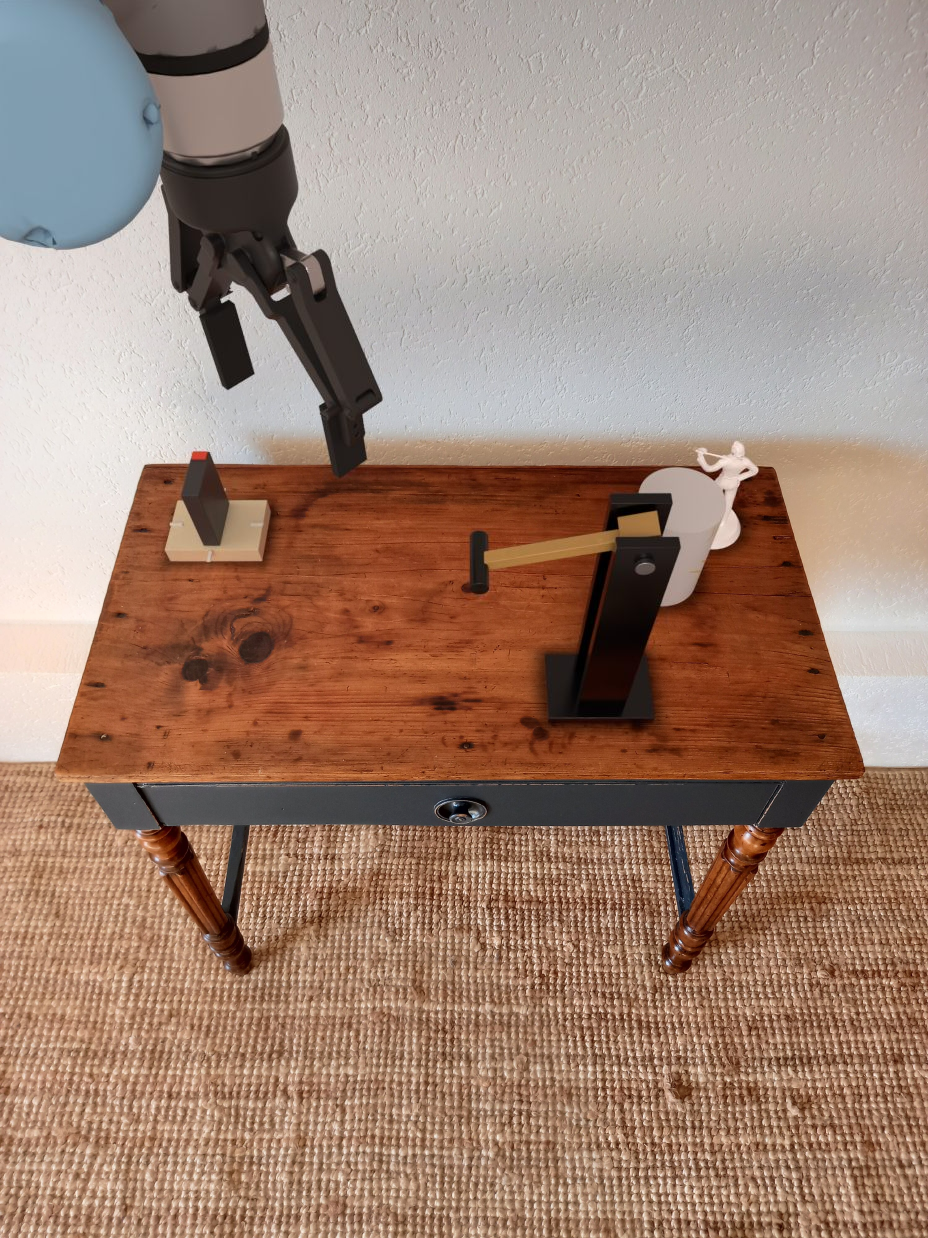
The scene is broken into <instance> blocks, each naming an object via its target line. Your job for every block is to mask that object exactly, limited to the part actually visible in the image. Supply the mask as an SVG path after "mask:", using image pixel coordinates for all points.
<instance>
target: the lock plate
mask: <svg viewBox="0 0 928 1238" xmlns="http://www.w3.org/2000/svg"><path fill="white" fill-rule="evenodd" d="M223 488H224V487H223ZM224 490H225V493H226V492H227V488H226V487H225V488H224ZM226 494H227V493H226ZM228 501H229V508H228V512H227V517H226V521H225V526H224V530H223V534H222V539H221V543H220V546H204V545H203V543H202V541H201V539H200V537H199V535H198V532H197V530H196V528H195V526H194V524H193V522H192V519H191V517H190V515H189V513H188V511H187V508H186V506H185V504H184V502H183V500H182V499H180V500H179V499H178V500H177V502H176V505H175V509H174V513H173V517H172V521H171V522H169V526H170V528H169V532H168V536H167V540H166V543H165V547H164V552H165V553H166V555H167V557H168V559H169V561H170V562H206V563H211V562H263V559H264V553H265V549H266V541H267V536H268V531H269V525H270V520H271V514H272V510H271V508H270V505H269V504H270V503H269V502H268V500H267V499H256V500H255V499H230V500H229V499H228Z"/></svg>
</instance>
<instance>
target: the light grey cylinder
mask: <svg viewBox="0 0 928 1238" xmlns="http://www.w3.org/2000/svg"><path fill="white" fill-rule="evenodd" d="M638 493H671V495H672V500H673V505H672V508H671V511H670V514H669V517H668V520H667V524H666V527H665V530H664V533H663V536H662V537H679V539H680V545H681V549H680V552H679V555H678V558H677V560H676V563H675V566H674V569H673V572H672V575H671V577H670V580H669V583H668V586H667V589H666V592H665V594H664V597H663V600H662V603H661V606H660V607H669V606H675V605H678V604H680V603H682V602H683V601H686V599H688V598H689V597H690V596H691V595H692V594H693V592H694V591H695V587H696V585H697V583H698V580H699V578H700V575H701V573H702V570H703V568H704V566H705V563H706V561H707V558H708V556H709V553H710V551H711V549H710V548H711V546H712V543H713V541H714V538H715V536H716V533H717V531H718V529H719V526H720V524H721V521H722V519H723V516H724V514H725V511H726V499H725V495H724V494H725V492H724V490H723V491H722V489H721V488H720V487H719V485H718V484H717V483H716V482H715V480H714V479H712V478H711V477H709V476H708V475H706V474H704V473H703V472H700V471H698V470H695V469H692V468H687V467H677V466H673V467H666V468H662V469H659V470H657V471H654V472H652V473H650V475H647V477H646V478H645V479H644V480H643V482H642V483H641V485H640V488H639V489H638Z"/></svg>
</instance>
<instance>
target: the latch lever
mask: <svg viewBox="0 0 928 1238" xmlns="http://www.w3.org/2000/svg"><path fill="white" fill-rule="evenodd" d="M618 525H619V529H617V530H611V531H605V532H602V531H599V532H593V533H588V534H583V535H575V536H569V537H563V538H558V539H557V538H556V539H552V540H546V541H540V542H533V543H527V544H522V545H515V546H509V547H504V548H497V549H493V550H492V549H491V550H490V549H489V534H488V533H487V532H486V531H484V530H474V531H472V532H471V533H470V534H469V591H470V592H471V593H472V594H474V595H484V594H487V593H488V592H489V590H490V571H493V570H498V569H505V568H513V567H518V566H524V565H529V564H536V563H542V562H548V561H549V562H550V561H554V560H560V559H561V560H562V559H567V558H568V559H569V558H574V557H580V556H586V555H591V554H597V553H599V552H605V551H611V550H613V546H614V542H615V538H616V537H661V532H660V526H659V520H658V514H657V511H651V512H646V513H640V514H634V515H628V516H622V517H618Z"/></svg>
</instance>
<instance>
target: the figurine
mask: <svg viewBox="0 0 928 1238" xmlns="http://www.w3.org/2000/svg"><path fill="white" fill-rule="evenodd" d="M745 449H746V447H745V445H744V443H742V442H741V441H739V440H735V441H734V442H733V444H732V445H731V449H730V453H729V454H722V455H719V454H716V453H715V454H714V453H710V452H708V448H706V447H703V446H702V447H698V448H697V449H695V450H694V452H695V453H696V454H697V458H696V461H697V463H698V464H699V465H700V468H702V470H703V471H704V472H706V473H713V472H714V473H715V472H717V471H719V470H720V469H722V471H721V473H720V474H719V476H717V477H716V478H715V480H714V481H715V482H716V483H717V484H718V485H719V487H720V488H721V489H722V491H723V492H724V495H725V499H726V511H725V514H724V516H723V519H722V521H721V524H720V526H719V529H718V531H717V533H716V536H715V538H714V541H713V543H712V546H711V548H710V550H719V549H724V548H727V547H729V546H731V545H733V544H734V543H735V542H736V541H737V540H738V538H739V537H740V534H741V523H740V520H739V518H738V516H737V514H736V513H735V512H734V510H733V509H732V508H733V504H734V501H735V498H736V495H737V492H738V488H739V486H740V484H741V481H744V480H746V479H749V478H751V477H754V476H757V474H758V472H759V467H758V466H757V465H756V464H755V463H754V462H753V461H752V460H750V458H748V457H746V455H745V454H746V451H745ZM704 455H705V456H707V455H709V456H712V457H715V458H720V459H718V460H717V462H716V463H714V464H712V465H710V464H708V462H707V461H706V457H704ZM745 469H747V471H745V472H743V471H744V470H745Z"/></svg>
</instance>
